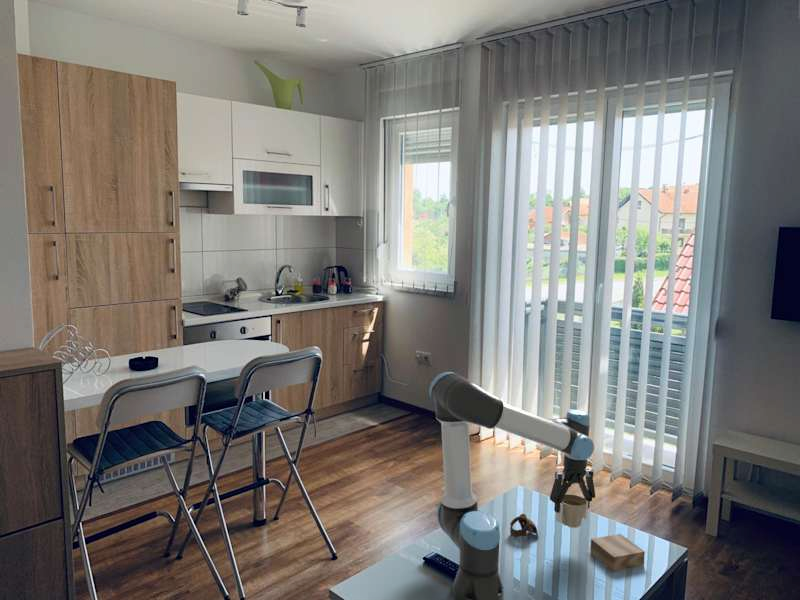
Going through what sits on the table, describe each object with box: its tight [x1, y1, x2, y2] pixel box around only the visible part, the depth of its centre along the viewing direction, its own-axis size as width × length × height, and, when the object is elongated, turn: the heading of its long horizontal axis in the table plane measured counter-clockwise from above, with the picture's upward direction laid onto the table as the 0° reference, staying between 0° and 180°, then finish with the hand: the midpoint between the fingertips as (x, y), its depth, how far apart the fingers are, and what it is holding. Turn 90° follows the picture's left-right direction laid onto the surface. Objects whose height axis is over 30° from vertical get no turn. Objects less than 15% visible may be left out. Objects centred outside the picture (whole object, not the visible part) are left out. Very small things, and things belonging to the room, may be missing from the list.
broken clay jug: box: [509, 513, 539, 540], centre depth 214 cm, size 12×10×8 cm
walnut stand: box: [590, 533, 645, 573], centre depth 199 cm, size 12×12×5 cm
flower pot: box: [561, 493, 587, 529], centre depth 203 cm, size 9×9×9 cm
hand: (571, 519), depth 204 cm, fingers closed on flower pot, 9 cm apart
